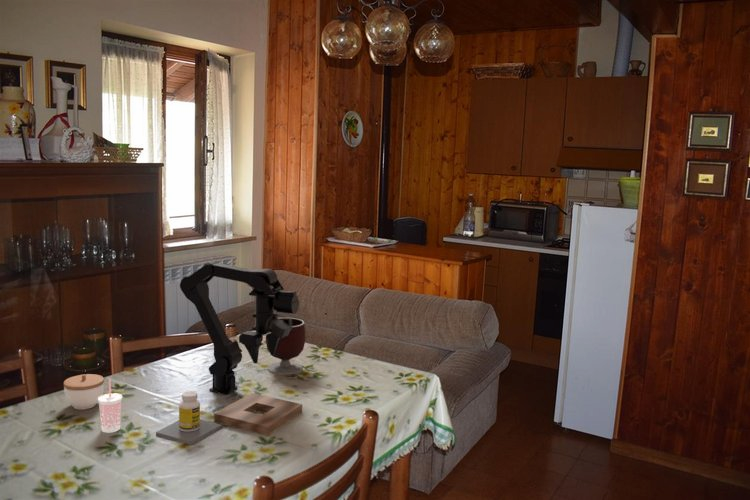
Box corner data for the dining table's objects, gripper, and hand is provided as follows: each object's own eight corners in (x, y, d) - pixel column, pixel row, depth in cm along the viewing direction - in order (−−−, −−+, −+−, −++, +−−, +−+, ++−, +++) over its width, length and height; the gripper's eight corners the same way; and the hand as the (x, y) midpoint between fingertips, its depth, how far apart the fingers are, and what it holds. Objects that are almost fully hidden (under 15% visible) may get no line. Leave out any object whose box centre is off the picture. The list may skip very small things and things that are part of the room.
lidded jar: (58, 404, 184) (57, 374, 182) (95, 395, 191) (94, 366, 190) (73, 415, 176) (72, 384, 175) (110, 406, 184) (110, 375, 183)
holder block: (214, 421, 176) (214, 413, 176) (251, 400, 192) (251, 392, 192) (267, 435, 169) (267, 426, 168) (302, 412, 185) (302, 404, 185)
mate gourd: (284, 360, 232) (285, 307, 229) (312, 368, 224) (314, 314, 221) (253, 370, 219) (254, 315, 216) (282, 379, 211) (283, 322, 208)
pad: (156, 434, 167) (155, 432, 166) (186, 418, 177) (186, 416, 177) (191, 444, 162) (191, 441, 162) (221, 427, 173) (221, 424, 172)
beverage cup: (128, 426, 171) (127, 377, 169) (111, 435, 165) (110, 385, 163) (110, 422, 173) (109, 374, 171) (93, 431, 167) (92, 381, 165)
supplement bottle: (194, 433, 166) (194, 398, 165) (175, 431, 167) (175, 396, 166) (203, 425, 172) (203, 391, 170) (185, 423, 173) (185, 389, 171)
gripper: (269, 320, 181) (269, 372, 183) (303, 307, 198) (301, 355, 200) (238, 315, 185) (237, 365, 187) (273, 303, 202) (272, 349, 204)
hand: (264, 359), depth 195 cm, fingers open, 9 cm apart
